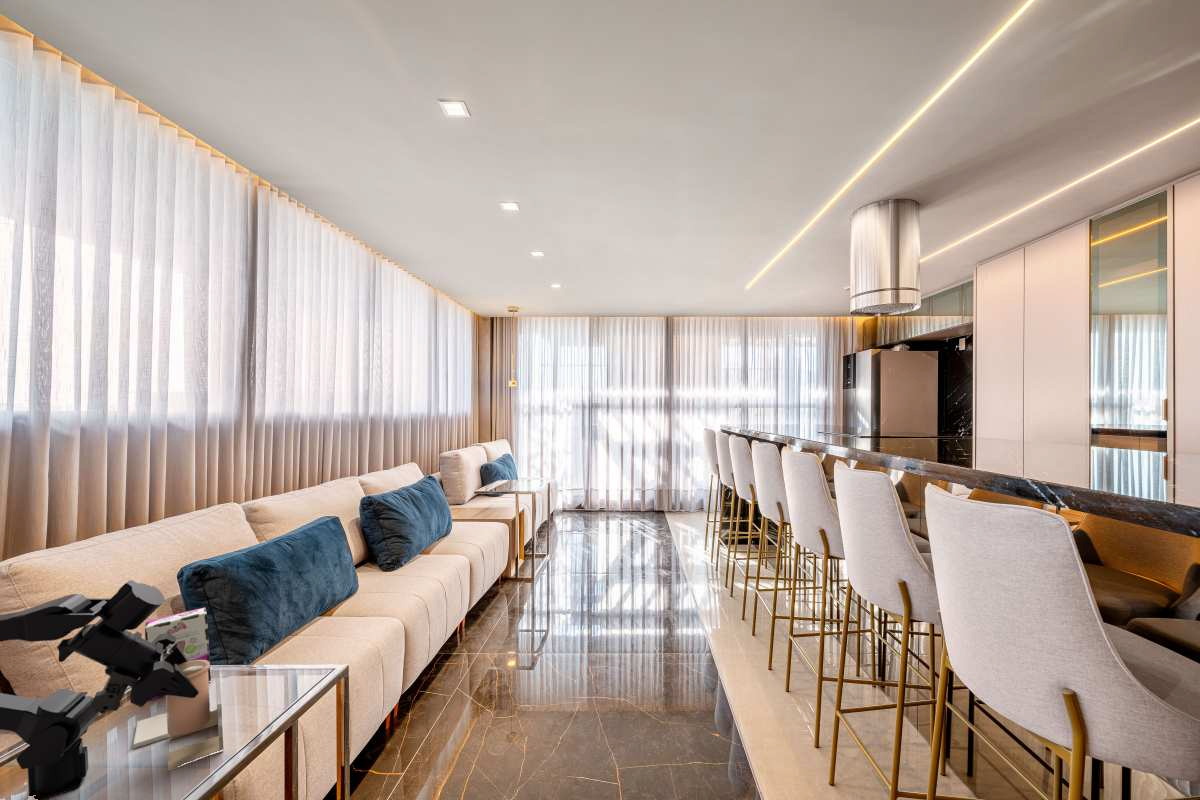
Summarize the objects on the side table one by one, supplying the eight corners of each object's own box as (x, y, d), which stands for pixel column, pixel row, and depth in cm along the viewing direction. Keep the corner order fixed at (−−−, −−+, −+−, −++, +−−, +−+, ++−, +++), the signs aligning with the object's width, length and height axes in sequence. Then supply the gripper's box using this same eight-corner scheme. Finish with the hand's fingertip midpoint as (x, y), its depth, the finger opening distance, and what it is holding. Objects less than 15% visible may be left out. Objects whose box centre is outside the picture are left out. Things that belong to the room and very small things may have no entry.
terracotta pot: (164, 741, 96) (161, 683, 95) (166, 722, 101) (163, 667, 101) (212, 726, 100) (209, 669, 100) (211, 708, 106) (209, 655, 105)
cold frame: (168, 771, 94) (165, 720, 94) (170, 738, 103) (168, 692, 103) (223, 751, 99) (221, 703, 99) (221, 721, 108) (219, 677, 108)
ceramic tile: (133, 748, 101) (133, 744, 101) (137, 725, 108) (137, 721, 108) (193, 729, 106) (193, 725, 106) (193, 708, 113) (193, 704, 113)
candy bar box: (209, 674, 127) (206, 606, 127) (211, 683, 123) (208, 612, 123) (148, 692, 120) (145, 620, 120) (148, 702, 116) (144, 627, 116)
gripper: (81, 669, 99) (161, 706, 105) (61, 717, 84) (156, 755, 91) (136, 615, 103) (209, 653, 110) (126, 651, 88) (211, 692, 95)
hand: (196, 687), depth 101 cm, fingers closed on terracotta pot, 6 cm apart
